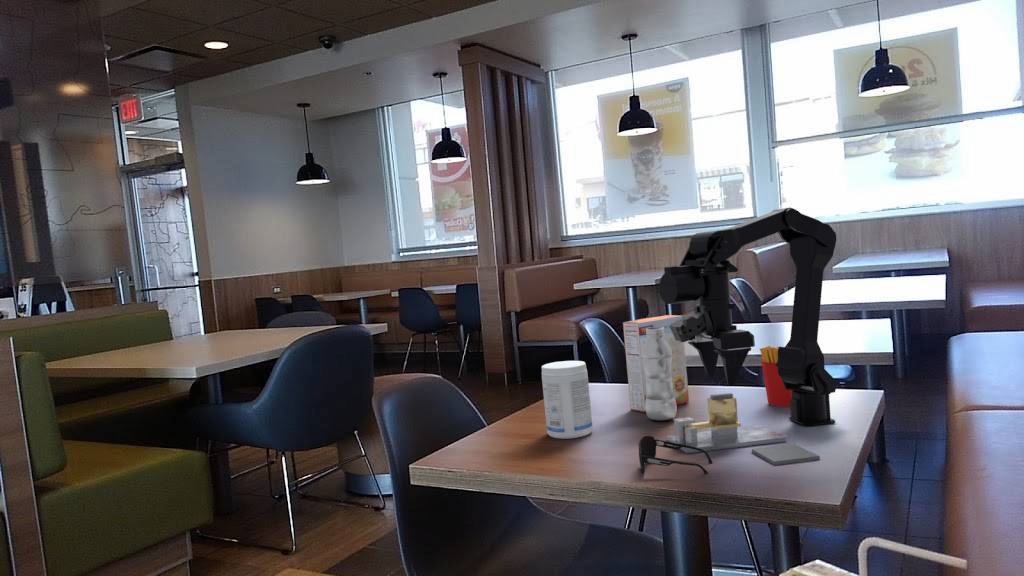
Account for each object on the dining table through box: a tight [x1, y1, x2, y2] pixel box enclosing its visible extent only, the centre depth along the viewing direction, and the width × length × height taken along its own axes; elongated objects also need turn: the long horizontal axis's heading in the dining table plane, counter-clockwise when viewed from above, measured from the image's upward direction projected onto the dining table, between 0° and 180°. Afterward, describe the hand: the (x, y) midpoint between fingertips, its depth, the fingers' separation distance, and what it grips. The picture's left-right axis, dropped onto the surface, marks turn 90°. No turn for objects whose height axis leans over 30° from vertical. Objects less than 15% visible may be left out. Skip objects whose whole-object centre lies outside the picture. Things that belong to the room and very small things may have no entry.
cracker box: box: [622, 314, 690, 413], centre depth 166 cm, size 14×6×21 cm, turn 122°
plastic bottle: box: [641, 327, 678, 422], centre depth 153 cm, size 6×7×20 cm
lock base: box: [666, 416, 787, 454], centre depth 133 cm, size 19×10×5 cm, turn 97°
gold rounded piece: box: [685, 392, 742, 430], centre depth 133 cm, size 10×5×6 cm, turn 97°
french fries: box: [759, 345, 794, 408], centre depth 159 cm, size 9×4×13 cm, turn 39°
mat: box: [751, 443, 821, 466], centre depth 121 cm, size 8×8×1 cm
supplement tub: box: [541, 360, 593, 440], centre depth 148 cm, size 10×10×15 cm
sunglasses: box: [637, 435, 713, 475], centre depth 120 cm, size 10×12×5 cm
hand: (720, 381), depth 133 cm, fingers open, 9 cm apart
